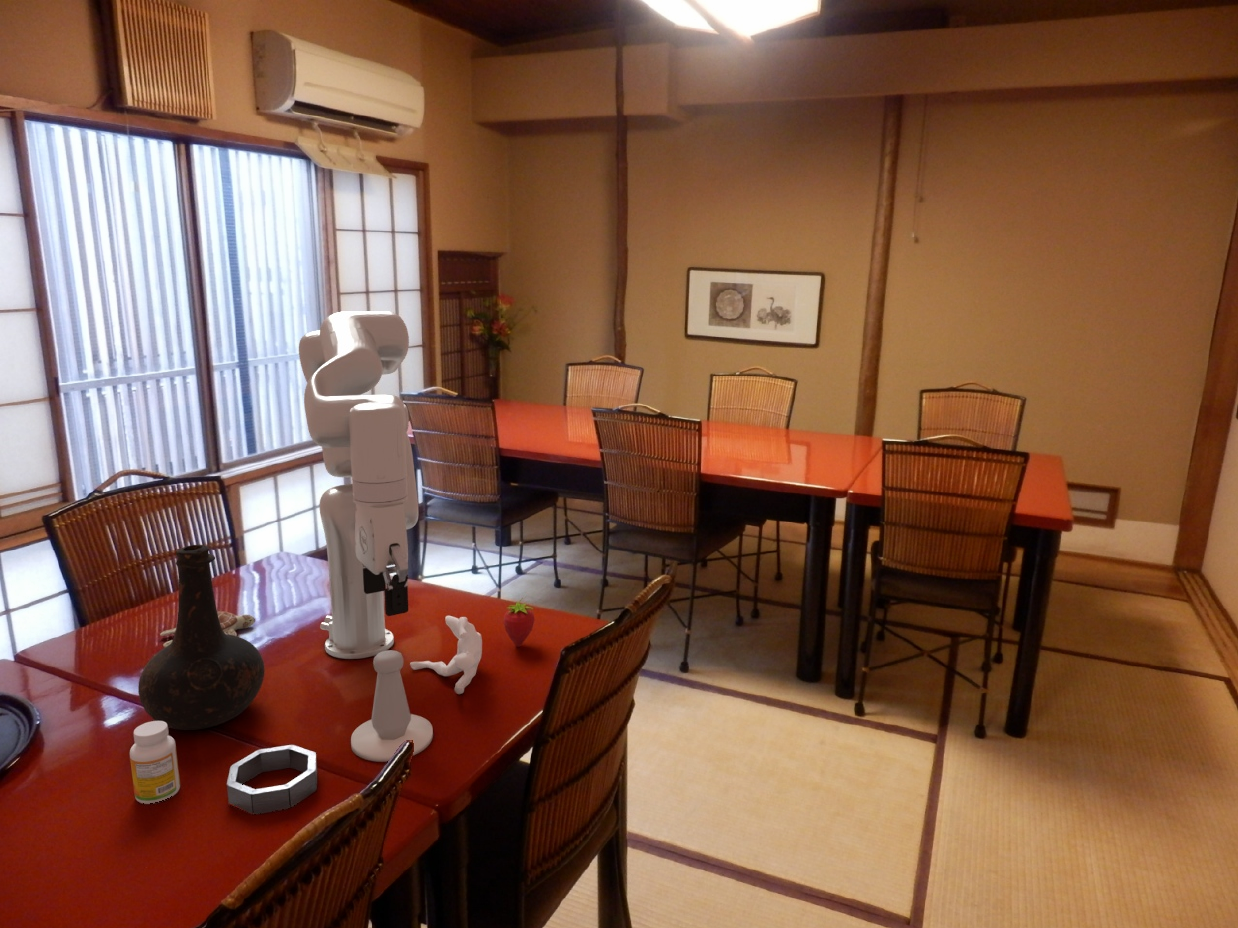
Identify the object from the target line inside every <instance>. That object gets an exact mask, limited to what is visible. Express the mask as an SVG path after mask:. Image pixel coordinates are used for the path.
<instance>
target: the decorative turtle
mask: <svg viewBox="0 0 1238 928" xmlns="http://www.w3.org/2000/svg"><path fill="white" fill-rule="evenodd" d="M217 613H218V617H219V621H220V624H221V627H222V629H223V631H224V633H225V634H229V635H234V636H237V635H238V634H237V632H236V631H237V630H238V629H239V630H240V629H247V628H249V627H252V626H253V625H254V624H255V622H256V619H255V617H254V616H253V615H251V614H240V615H236V614H234V613H232V612H228V611H224V610H223V611H222V610H217ZM175 631H176V627H174V628H171V629H166V630H163V631H162V632H161V633H159V635H160V637H164V636H170V635H175ZM237 637H238V636H237ZM172 640H173V639H171V640H169V641H166V642H164V643H163V644H162V645H163V648H165V647H167V646H168V645H170V644H171V642H172Z"/></svg>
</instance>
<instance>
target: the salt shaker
mask: <svg viewBox="0 0 1238 928" xmlns="http://www.w3.org/2000/svg"><path fill="white" fill-rule="evenodd" d="M372 663H373V668H374V671H375V672H377V676H376V681H375V682H376V683H375V691H374V698H373V706H372V711H371V719H370V720H371V721H372V725H373V728H374V729H375V731H376V732H377V734H378V735H379V736H380V737H381V739H384V740H395V739H397V738H399V737H401V736H404V735H405V732H406V729H407V727H408V725H409V723H410V721H411V714H412V713H411V711H410V707H409V703H408V699H407V694H406V690H405V687H404V683H403V678H402V675H401V669H402V668H403V667H404V657H403V654H402V653H401V652H400V651H397V650H394V649H392V650H389V649H388V650H386V651H382V652H380V653H378V654H377V655H374V658H373V662H372Z"/></svg>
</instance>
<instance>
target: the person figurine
mask: <svg viewBox="0 0 1238 928" xmlns="http://www.w3.org/2000/svg"><path fill="white" fill-rule="evenodd" d="M444 619H445V624H446V626H447V627H449V629H450V630H451V631H452V633H453V635H454V636H455V637H456V639H458V641H457V653H456V654H455V655H454V656H453V657H452V659H451V660H450V661H449V662H448V664H447V665H446V663H445V662H443V661H437V662H432V661H430V660H425V661H412V662H409V663H410V664H409V665H410V668H411V669H412V670H414V671H415V670H416V671H417V670H421V669H426V668H427V669H431V670H434V671H435V672H436V673H437V674H438V675H440V676H443V677H450V676H453V675H457V674H459V673H461V672H463V675H462V676H461V677H460V678H459V679H458V680H457V682H456V683H455V687H454V693H456V694H458V695H461V694H463V693H465V688H466V687H467V686H469V684H471V682H472V679H473V678H474V677H475V676H476V673H477V671H478V665H479V663H480V661H481V659H482V655H483V638H482V634H481V633H479V632H477V630H476V628H475V625H474V624H473V623H472V622H471V623H470V622H469V621H468V618H467V617H466V616H460V617H459V618H458V617H455V616H451V615H450V614H449V615H446V616H445V618H444Z"/></svg>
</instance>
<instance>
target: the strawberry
mask: <svg viewBox="0 0 1238 928" xmlns="http://www.w3.org/2000/svg"><path fill="white" fill-rule="evenodd" d="M522 600H523V598H521V599H519V602H518V601H517V602H516V603H515V604H510V605H509V604H508V605H507V606H508V607H506V608H505V609H506V612H505V613H504V616H503V625H504V626H503V627H504V630H505V632H506V633H507V636H508V637H509V639H510V640H511V641H512V642H513V644H514V645H515V646H516V647H519V648H520V647H521V646H522V645H523V644H524V642H525V641H526V640H527V639H528V637H529V635H530V634H531V632H532V630H533V627H534V623H535V616H534V615H535V614H534V612H533V610H534V608H533V607H531V606H527V605H526V604H527V603H520V602H521V601H522ZM507 609H508V610H507Z"/></svg>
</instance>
